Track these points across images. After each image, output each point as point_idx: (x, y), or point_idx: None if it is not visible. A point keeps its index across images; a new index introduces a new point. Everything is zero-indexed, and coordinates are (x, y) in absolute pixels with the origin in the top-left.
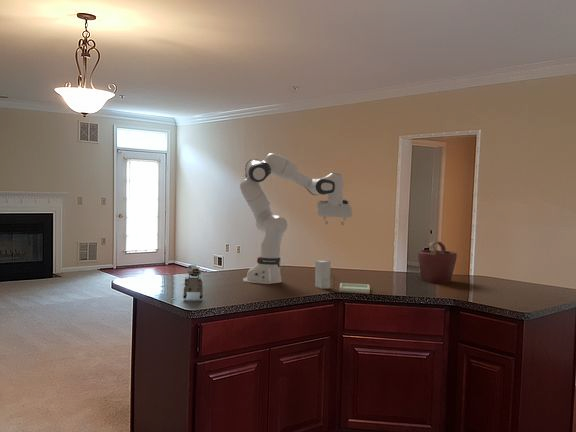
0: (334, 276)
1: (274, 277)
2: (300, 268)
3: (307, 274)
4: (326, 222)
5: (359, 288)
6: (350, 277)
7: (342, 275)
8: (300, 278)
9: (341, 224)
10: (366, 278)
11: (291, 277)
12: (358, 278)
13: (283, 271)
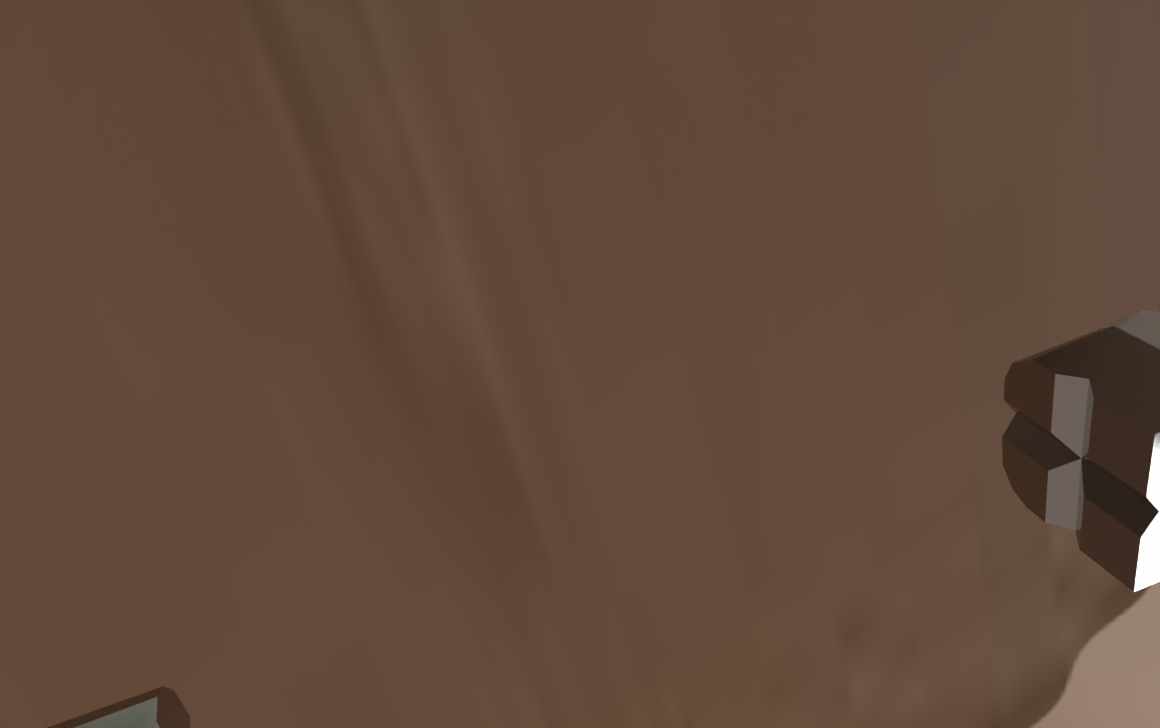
0: (448, 521)
1: None
2: (886, 710)
3: (761, 446)
4: (1154, 378)
5: None
6: (244, 583)
7: (387, 641)
8: (780, 122)
9: (136, 701)
10: (22, 651)
11: (889, 130)
12: (118, 584)
13: None
